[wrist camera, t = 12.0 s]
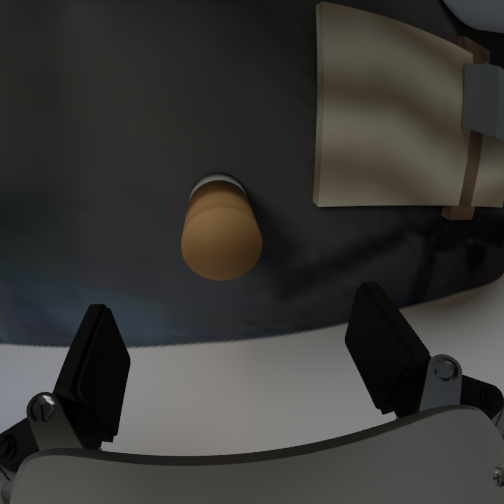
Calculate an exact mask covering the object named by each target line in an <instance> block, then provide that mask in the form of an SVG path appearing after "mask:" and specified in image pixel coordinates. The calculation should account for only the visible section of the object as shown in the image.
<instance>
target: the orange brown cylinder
mask: <svg viewBox="0 0 504 504" xmlns="http://www.w3.org/2000/svg"><path fill="white" fill-rule="evenodd" d="M181 249H182V254H183V257H184V260H185V261H186V263H187V265H188V266H189V267H190V268H191V269H192V270H193V271H194V272H195V273H197V274H198V275H200V276H202V277H204V278H207V279H211V280H217V281H225V280H231V279H235V278H237V277H240V276H242V275H244V274H245V273H247V272H248V271H249V270H250V269H252V268H253V266H254V265H255V264H256V263H257V261H258V259H259V257H260V255H261V251H262V237H261V233H260V231H259V228H258V225H257V222H256V220H255V217H254V214H253V212H252V209H251V206H250V203H249V201H248V198H247V195H246V193H245V190H244V187H243V186H242V184H241V183H240V182H239V181H238V180H237V179H236V178H235V177H233V176H232V175H229V174H227V173H221V172H215V173H210V174H207V175H205V176H203V177H202V178H200V179H199V180H198V181H197V182H196V183H195V184H194V186H193V188H192V190H191V193H190V198H189V203H188V208H187V213H186V219H185V224H184V230H183V236H182V243H181Z"/></svg>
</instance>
